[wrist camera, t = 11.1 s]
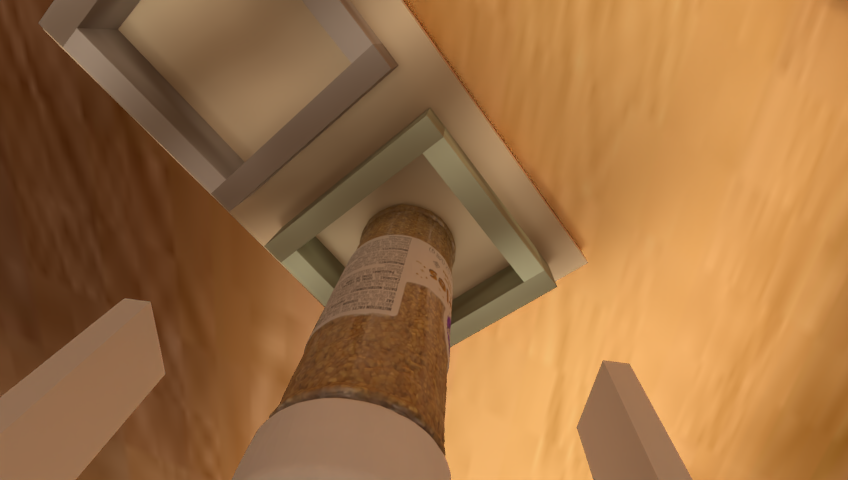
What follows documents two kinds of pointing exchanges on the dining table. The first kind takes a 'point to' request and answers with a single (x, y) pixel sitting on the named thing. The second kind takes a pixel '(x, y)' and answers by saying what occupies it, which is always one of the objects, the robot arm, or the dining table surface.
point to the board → (325, 134)
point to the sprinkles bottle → (371, 365)
